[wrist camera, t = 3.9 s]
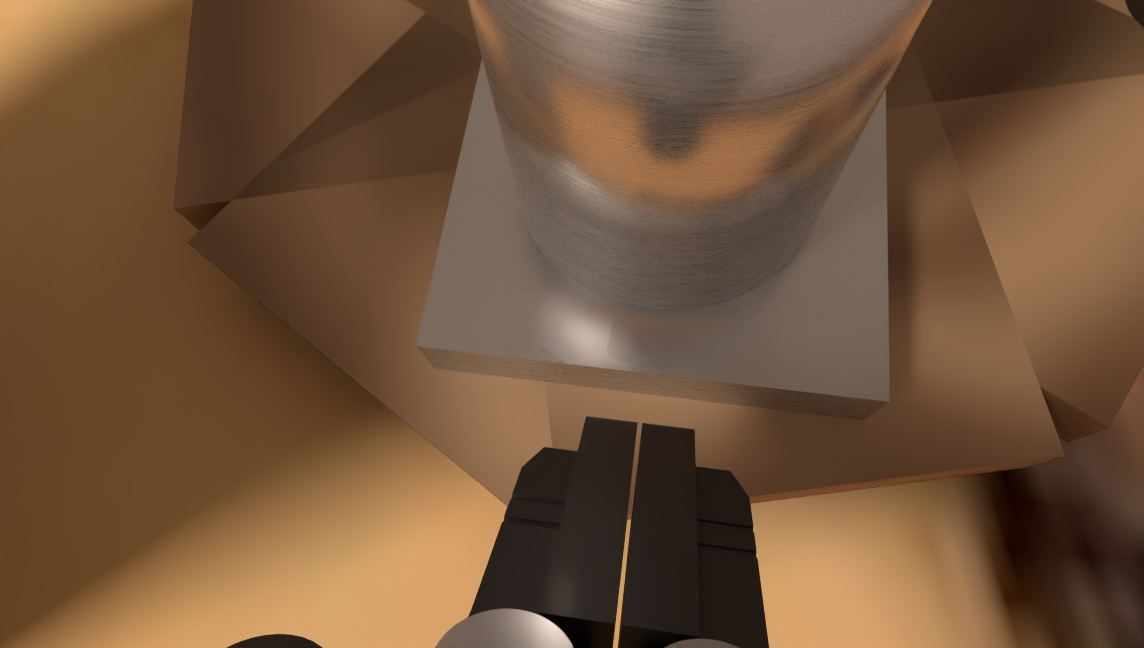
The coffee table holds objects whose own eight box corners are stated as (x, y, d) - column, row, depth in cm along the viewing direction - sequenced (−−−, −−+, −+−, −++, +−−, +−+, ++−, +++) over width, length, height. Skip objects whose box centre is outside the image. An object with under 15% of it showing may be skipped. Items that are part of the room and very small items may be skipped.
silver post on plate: (505, 39, 18) (364, -655, 8) (863, 64, 18) (1210, -687, 7) (434, 368, 15) (65, -83, 5) (863, 420, 14) (1467, -6, 4)
